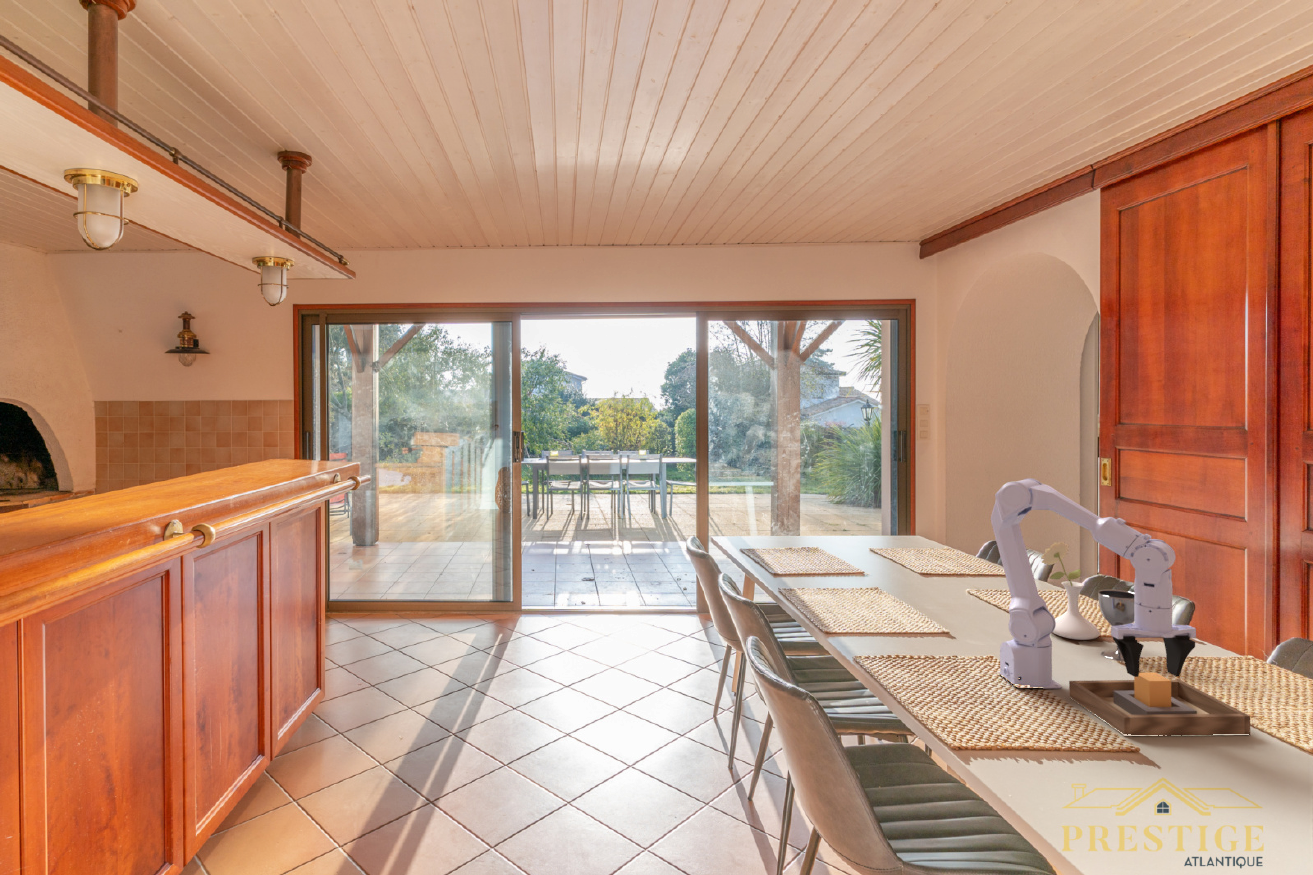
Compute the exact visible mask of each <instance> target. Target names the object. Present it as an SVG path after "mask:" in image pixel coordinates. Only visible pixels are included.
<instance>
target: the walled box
mask: <svg viewBox="0 0 1313 875" xmlns="http://www.w3.org/2000/svg"><path fill="white" fill-rule="evenodd" d="M1169 680H1170V681H1171V697H1173V698H1175V699H1176V700H1178V701H1180V702H1182V703H1184V704H1185V705H1187V706H1189V707H1191V708H1192V709H1194V710H1196V711H1197V714H1164V715H1131V714H1130V713H1128V712H1127V711H1125V710H1124V709H1122V708H1120V707H1119V706H1117V705H1116V704H1114V696H1113V691H1128V690H1134V679H1120V680H1117V679H1116V680H1115V679H1114V680H1111V679H1109V680H1107V679H1105V680H1069V681H1068V682H1069V683H1068V685H1069V692H1068V693H1069V696H1070V697H1071V698H1072V699H1073V700H1075V701H1076V702H1077V703H1076V702H1075V701H1074V702H1075V703H1076V704H1078V703H1079V704H1080V705H1082V706H1083V707H1085V708H1086V709H1087V710H1086V709H1085V708H1084V709H1085V710H1086V711H1088V710H1089V711H1091V712H1092V713H1093V714H1096V715H1097V716H1098V717H1100V718H1101V719H1103V720H1105V721H1106V722H1107V723H1109V724H1110V725H1111V726H1112V727H1113V728H1116V729H1117V730H1119V731H1120V732H1122V733H1123V734H1127V735H1128V734H1131V735H1158V736H1157V737H1160V736H1159V735H1163V736H1162V737H1172V736H1171V735H1181V736H1180V737H1183V736H1182V735H1213V734H1249V735H1250V736H1251V716H1250V715H1249V714H1247V713H1245V712H1244V711H1241V710H1239V709H1237V708H1235V707H1233V706H1231V705H1229V704H1227V703H1225V702H1223V701H1222V700H1219V699H1218V698H1216V697H1214V696H1212V695H1210V694H1208V693H1206V692H1205V691H1202V690H1200V689H1198V688H1197V687H1194V686H1193V685H1191V684H1188V683H1187V682H1185V681H1183V680H1181V679H1169ZM1071 698H1070V699H1071ZM1072 699H1071V700H1072ZM1073 700H1072V701H1073ZM1079 704H1078V705H1079ZM1080 705H1079V706H1080ZM1082 706H1081V707H1082ZM1083 707H1082V708H1083ZM1089 711H1088V712H1089ZM1092 713H1091V714H1092ZM1093 714H1092V715H1093ZM1112 727H1111V728H1112ZM1113 728H1112V729H1113ZM1165 735H1167V736H1165Z"/></svg>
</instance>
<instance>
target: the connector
mask: <svg viewBox="0 0 1313 875" xmlns="http://www.w3.org/2000/svg"><path fill="white" fill-rule="evenodd" d="M1133 678H1134V679H1133V680H1134V698H1135V699H1137V700H1139V701H1140V702H1142V703H1143V704H1145V705H1147V706H1148V707H1171V681H1170V680H1171V679H1168V678H1167V677H1165V676H1163V675H1161V674H1159V673H1158V672H1139V676H1138V677H1134V676H1133Z"/></svg>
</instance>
